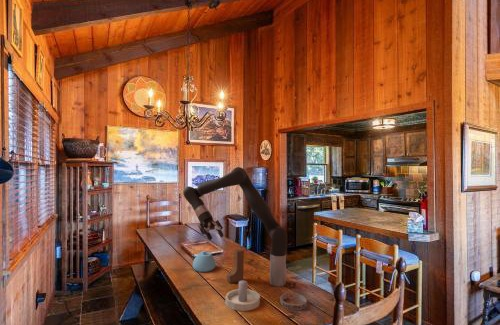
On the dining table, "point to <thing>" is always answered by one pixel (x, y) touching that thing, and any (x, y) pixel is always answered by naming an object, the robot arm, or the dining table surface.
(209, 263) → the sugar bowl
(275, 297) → the dining table surface
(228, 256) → the dining table surface
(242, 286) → the grey peg
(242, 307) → the round tray
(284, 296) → the bracelet
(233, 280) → the wooden block
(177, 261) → the dining table surface
